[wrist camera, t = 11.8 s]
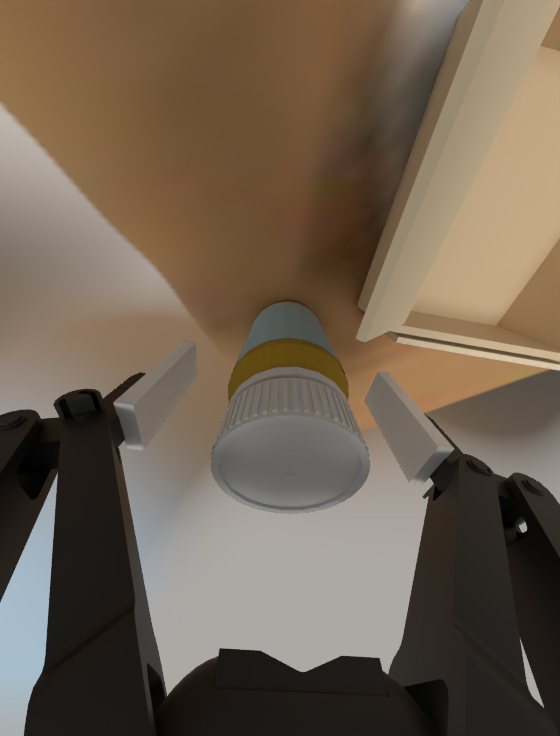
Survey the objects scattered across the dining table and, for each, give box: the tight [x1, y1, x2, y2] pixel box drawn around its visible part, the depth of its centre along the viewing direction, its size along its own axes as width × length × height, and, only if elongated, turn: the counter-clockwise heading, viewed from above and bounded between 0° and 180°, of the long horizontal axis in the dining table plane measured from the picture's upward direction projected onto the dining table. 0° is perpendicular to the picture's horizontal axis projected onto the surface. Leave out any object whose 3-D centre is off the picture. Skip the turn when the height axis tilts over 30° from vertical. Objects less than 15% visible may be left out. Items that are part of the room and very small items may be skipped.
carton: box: [357, 0, 560, 370], centre depth 13 cm, size 17×14×7 cm
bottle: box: [211, 301, 370, 514], centre depth 14 cm, size 7×7×15 cm
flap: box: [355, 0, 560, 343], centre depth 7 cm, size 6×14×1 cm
